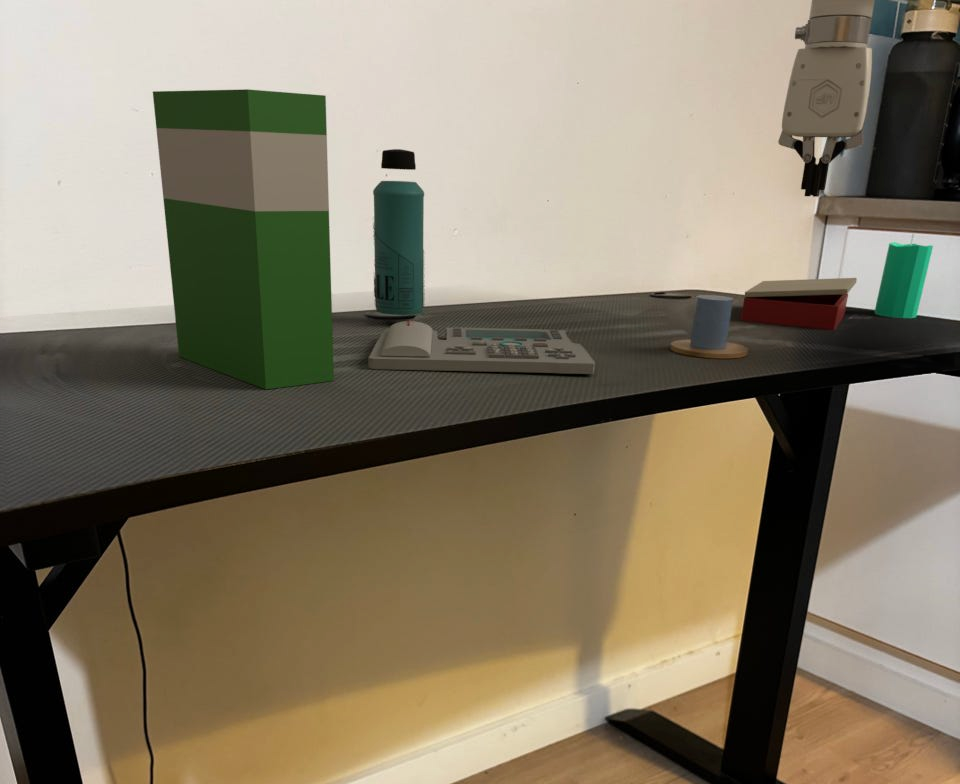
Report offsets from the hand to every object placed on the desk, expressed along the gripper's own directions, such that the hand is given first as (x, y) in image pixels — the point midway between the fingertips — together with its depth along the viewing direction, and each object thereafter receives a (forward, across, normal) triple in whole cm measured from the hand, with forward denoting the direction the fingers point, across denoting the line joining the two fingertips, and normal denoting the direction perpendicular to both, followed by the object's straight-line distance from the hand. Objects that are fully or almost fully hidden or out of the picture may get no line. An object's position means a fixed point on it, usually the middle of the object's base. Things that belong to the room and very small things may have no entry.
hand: (811, 195), depth 130 cm
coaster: (+16, -6, -30) cm, 35 cm away
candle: (+17, +13, +14) cm, 26 cm away
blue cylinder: (+16, -6, -30) cm, 34 cm away
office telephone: (+16, -28, -48) cm, 58 cm away
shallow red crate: (+16, 0, 0) cm, 17 cm away
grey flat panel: (+12, +1, 0) cm, 12 cm away
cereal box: (+16, -44, -68) cm, 82 cm away
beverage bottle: (+16, -45, -35) cm, 59 cm away
